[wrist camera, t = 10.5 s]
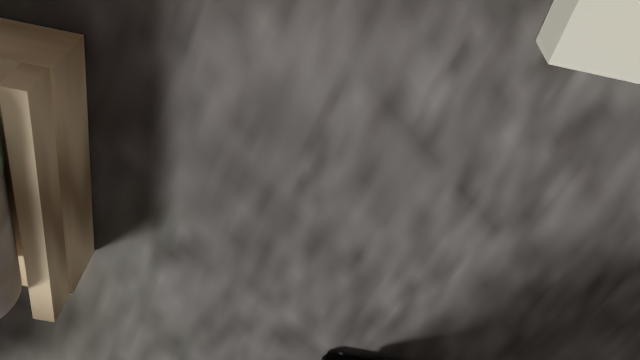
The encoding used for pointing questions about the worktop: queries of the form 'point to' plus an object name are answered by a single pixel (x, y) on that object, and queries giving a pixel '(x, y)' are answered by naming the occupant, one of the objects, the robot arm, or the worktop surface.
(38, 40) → the trough rack
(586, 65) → the white decorated slab
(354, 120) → the worktop surface
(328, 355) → the robot arm
